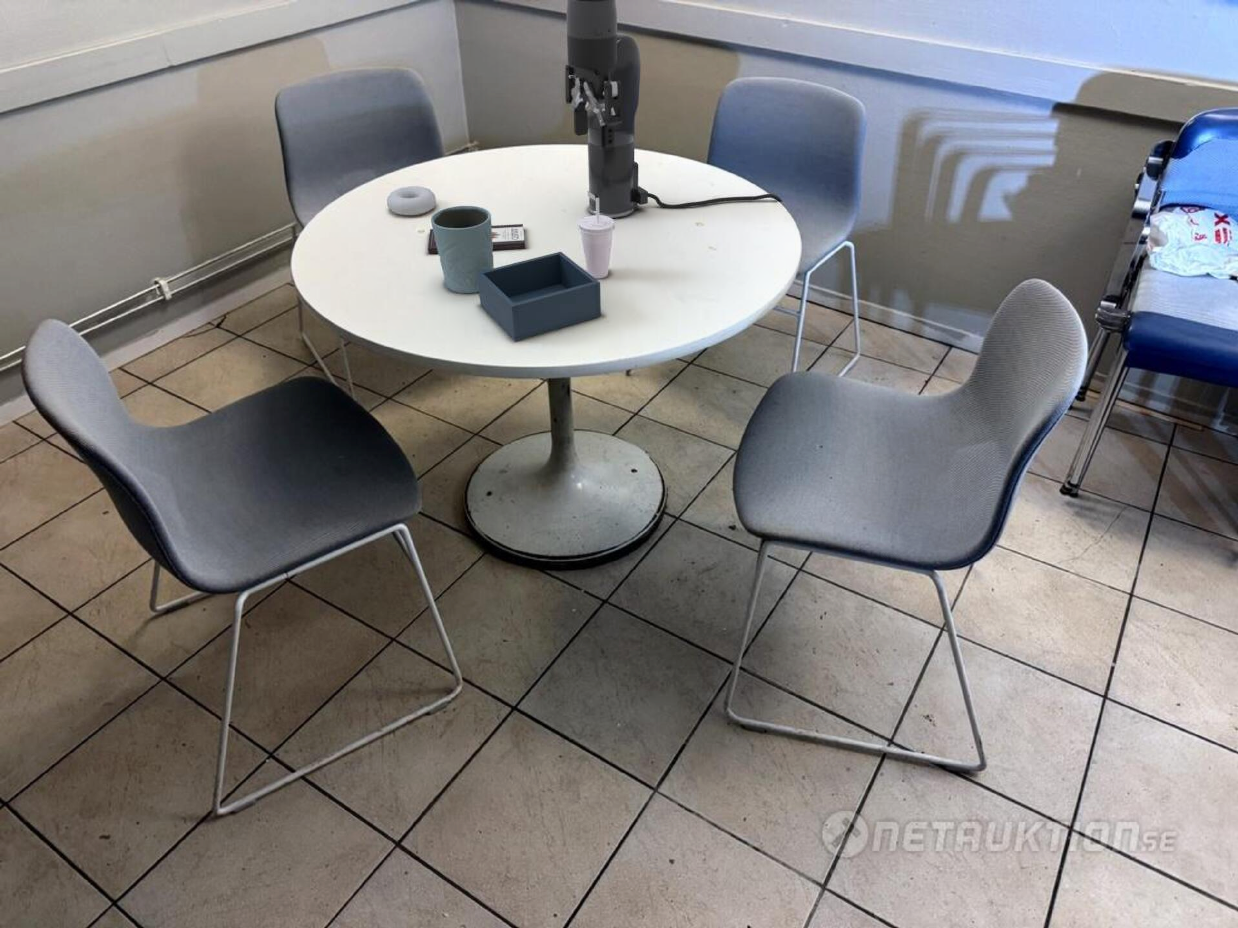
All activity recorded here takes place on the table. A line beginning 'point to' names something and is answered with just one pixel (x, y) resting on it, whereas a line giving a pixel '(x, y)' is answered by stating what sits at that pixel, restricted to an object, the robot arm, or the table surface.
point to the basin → (539, 295)
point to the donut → (411, 200)
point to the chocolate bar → (494, 238)
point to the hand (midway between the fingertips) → (593, 141)
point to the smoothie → (597, 242)
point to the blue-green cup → (463, 245)
